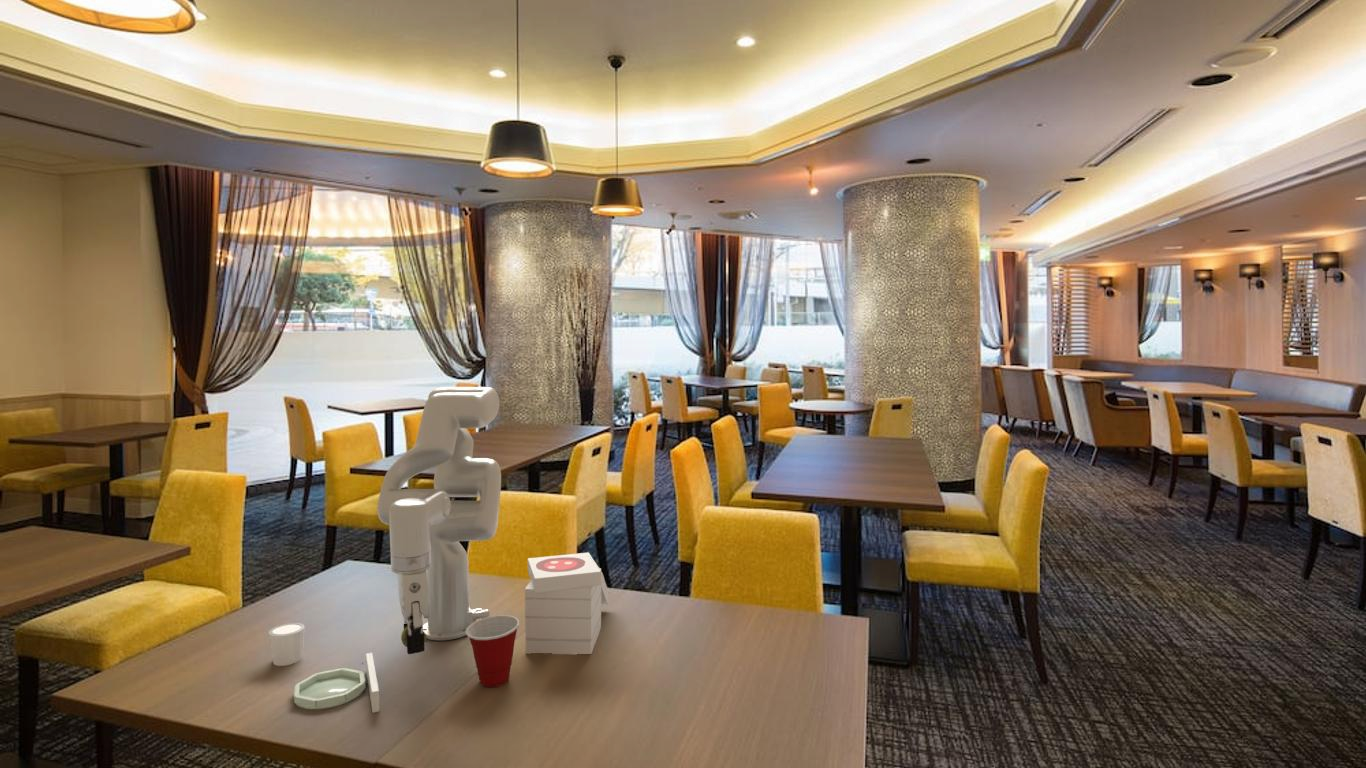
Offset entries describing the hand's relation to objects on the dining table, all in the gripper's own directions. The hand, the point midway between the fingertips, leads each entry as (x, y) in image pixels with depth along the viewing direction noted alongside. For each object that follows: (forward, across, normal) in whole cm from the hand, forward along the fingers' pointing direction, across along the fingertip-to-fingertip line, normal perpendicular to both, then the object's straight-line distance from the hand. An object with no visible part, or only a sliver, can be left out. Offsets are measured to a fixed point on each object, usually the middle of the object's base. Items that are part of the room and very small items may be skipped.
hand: (414, 645), depth 143 cm
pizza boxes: (+9, +11, -36) cm, 39 cm away
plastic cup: (+8, -6, -14) cm, 18 cm away
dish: (+8, +4, +16) cm, 18 cm away
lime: (+1, 0, 0) cm, 1 cm away
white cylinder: (+9, +24, +24) cm, 35 cm away
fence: (+8, +1, +8) cm, 11 cm away
